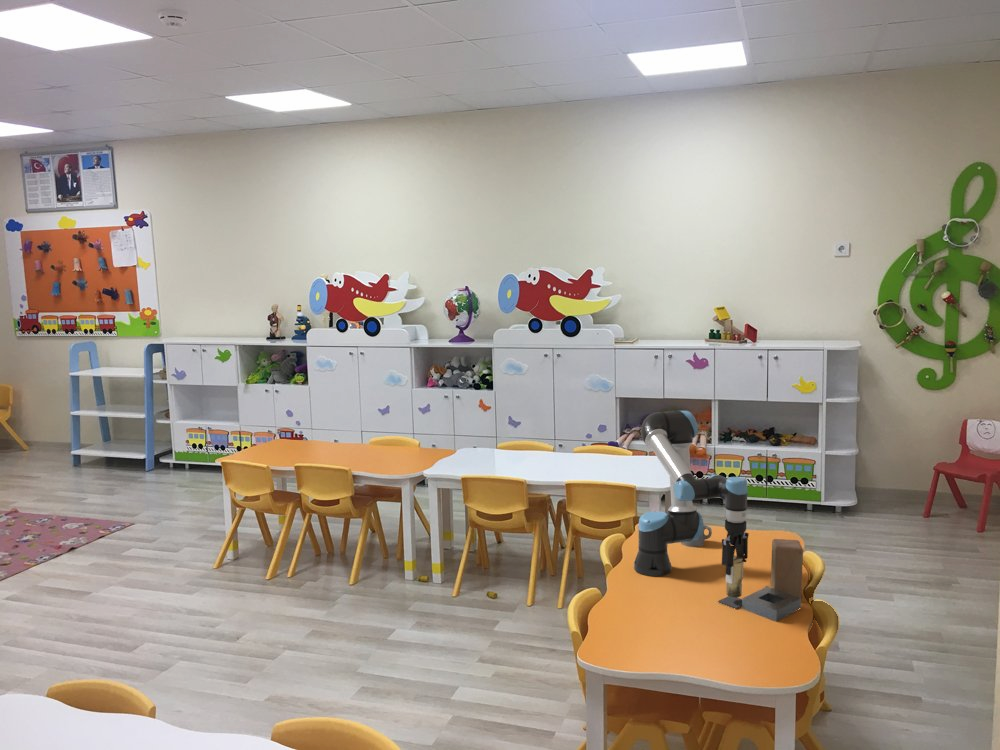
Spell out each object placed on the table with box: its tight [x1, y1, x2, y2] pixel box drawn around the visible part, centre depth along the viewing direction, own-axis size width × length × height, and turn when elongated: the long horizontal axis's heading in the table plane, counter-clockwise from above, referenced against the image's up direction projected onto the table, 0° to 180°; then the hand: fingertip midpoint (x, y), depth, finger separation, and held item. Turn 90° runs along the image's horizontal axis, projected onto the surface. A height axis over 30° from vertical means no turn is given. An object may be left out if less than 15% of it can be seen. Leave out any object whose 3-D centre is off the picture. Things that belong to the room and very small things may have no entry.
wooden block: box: [770, 538, 804, 599], centre depth 308 cm, size 10×10×20 cm
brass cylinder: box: [725, 555, 743, 598], centre depth 300 cm, size 5×5×14 cm
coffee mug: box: [680, 521, 713, 548], centre depth 364 cm, size 13×10×10 cm
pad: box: [717, 595, 742, 610], centre depth 302 cm, size 8×8×1 cm
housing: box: [741, 586, 802, 623], centre depth 296 cm, size 14×16×4 cm
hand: (734, 580), depth 300 cm, fingers closed on brass cylinder, 5 cm apart
